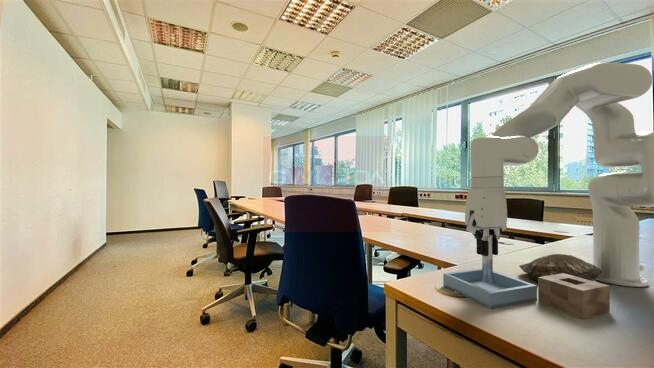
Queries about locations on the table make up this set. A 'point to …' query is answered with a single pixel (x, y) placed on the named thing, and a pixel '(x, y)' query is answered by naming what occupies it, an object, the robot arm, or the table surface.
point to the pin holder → (574, 295)
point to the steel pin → (488, 263)
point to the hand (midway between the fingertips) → (487, 253)
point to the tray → (490, 288)
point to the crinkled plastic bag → (561, 267)
